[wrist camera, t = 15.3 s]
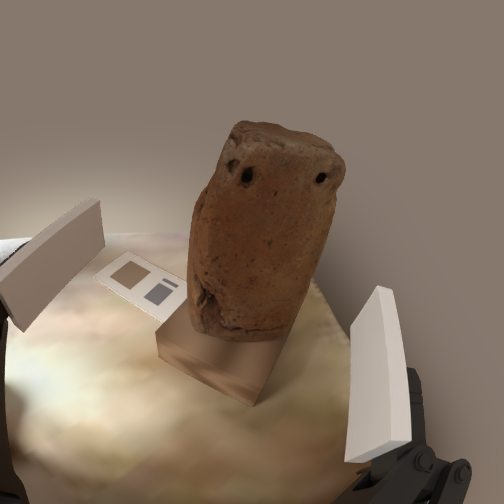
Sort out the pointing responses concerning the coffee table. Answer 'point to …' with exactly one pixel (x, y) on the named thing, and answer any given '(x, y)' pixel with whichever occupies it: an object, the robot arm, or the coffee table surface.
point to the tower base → (218, 357)
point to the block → (260, 231)
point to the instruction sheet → (144, 285)
